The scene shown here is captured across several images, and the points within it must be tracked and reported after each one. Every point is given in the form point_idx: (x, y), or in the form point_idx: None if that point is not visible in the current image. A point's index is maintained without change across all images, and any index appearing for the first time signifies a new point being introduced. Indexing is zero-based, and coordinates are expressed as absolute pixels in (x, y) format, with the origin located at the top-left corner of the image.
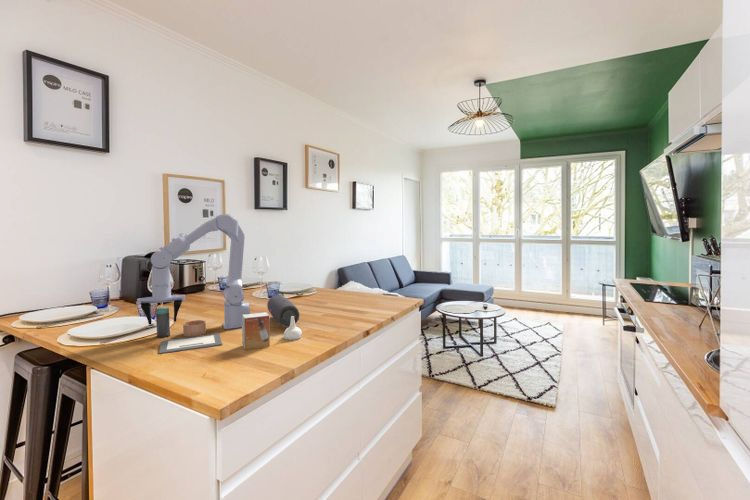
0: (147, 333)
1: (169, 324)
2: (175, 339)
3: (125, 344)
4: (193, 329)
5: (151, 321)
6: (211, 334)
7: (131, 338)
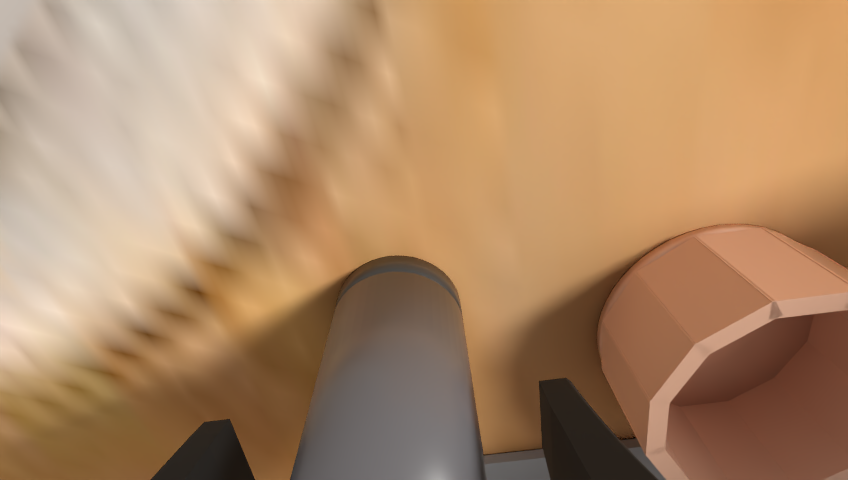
0: (166, 148)
1: (474, 398)
2: (536, 474)
3: (137, 445)
4: (724, 464)
5: (222, 437)
6: None
7: (81, 295)
